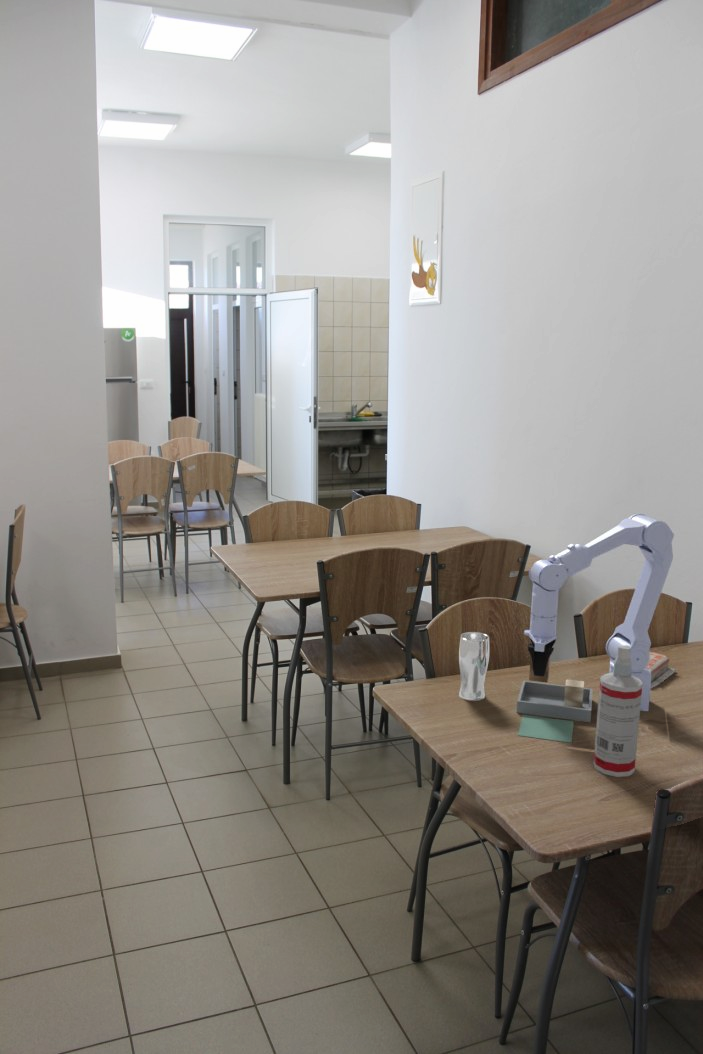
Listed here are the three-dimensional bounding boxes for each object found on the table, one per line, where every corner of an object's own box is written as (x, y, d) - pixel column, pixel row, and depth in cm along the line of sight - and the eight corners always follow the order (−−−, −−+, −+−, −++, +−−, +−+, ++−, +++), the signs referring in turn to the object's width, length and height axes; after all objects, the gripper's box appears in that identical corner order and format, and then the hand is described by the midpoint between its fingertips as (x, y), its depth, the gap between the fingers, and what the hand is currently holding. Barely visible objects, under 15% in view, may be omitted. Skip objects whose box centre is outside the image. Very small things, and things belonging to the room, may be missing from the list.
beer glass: (491, 701, 205) (495, 640, 202) (464, 704, 203) (467, 642, 200) (479, 690, 212) (482, 630, 209) (452, 693, 210) (455, 632, 207)
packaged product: (639, 646, 232) (677, 656, 226) (637, 664, 233) (675, 673, 227) (611, 664, 218) (650, 675, 212) (609, 683, 219) (648, 694, 213)
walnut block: (548, 676, 202) (550, 650, 200) (547, 682, 198) (549, 656, 197) (530, 674, 203) (532, 648, 201) (529, 680, 199) (530, 654, 198)
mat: (573, 723, 194) (573, 721, 194) (571, 745, 184) (571, 742, 184) (522, 717, 197) (522, 714, 197) (517, 737, 187) (517, 735, 187)
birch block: (582, 706, 203) (584, 681, 201) (581, 712, 199) (583, 687, 198) (564, 703, 204) (566, 679, 202) (563, 710, 200) (565, 685, 199)
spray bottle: (622, 780, 169) (633, 656, 164) (586, 767, 174) (596, 646, 169) (640, 767, 175) (651, 646, 170) (605, 754, 180) (615, 637, 175)
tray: (591, 702, 206) (592, 689, 206) (590, 724, 194) (591, 710, 193) (522, 693, 211) (522, 680, 210) (516, 714, 198) (517, 701, 198)
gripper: (528, 603, 205) (525, 659, 208) (522, 621, 191) (518, 680, 194) (560, 606, 203) (556, 662, 206) (555, 625, 189) (551, 685, 192)
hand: (539, 671), depth 200 cm, fingers closed on walnut block, 4 cm apart
